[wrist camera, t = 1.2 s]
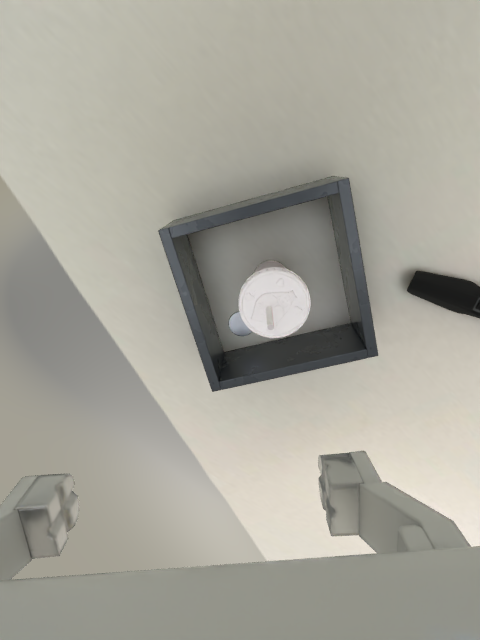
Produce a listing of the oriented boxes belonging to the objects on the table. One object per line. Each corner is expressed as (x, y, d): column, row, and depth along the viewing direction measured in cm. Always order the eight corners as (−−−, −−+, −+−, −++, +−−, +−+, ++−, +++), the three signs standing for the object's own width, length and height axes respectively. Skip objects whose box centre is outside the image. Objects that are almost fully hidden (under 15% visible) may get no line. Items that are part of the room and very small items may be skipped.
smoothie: (230, 267, 44) (219, 310, 31) (281, 236, 42) (292, 267, 29) (261, 314, 46) (262, 374, 33) (310, 285, 44) (333, 336, 31)
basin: (333, 175, 40) (348, 177, 34) (361, 328, 46) (378, 355, 39) (173, 220, 42) (157, 230, 36) (218, 361, 48) (212, 392, 41)
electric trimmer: (410, 258, 43) (421, 265, 40) (541, 302, 44) (561, 312, 41) (394, 290, 44) (404, 299, 41) (522, 332, 45) (540, 344, 42)
